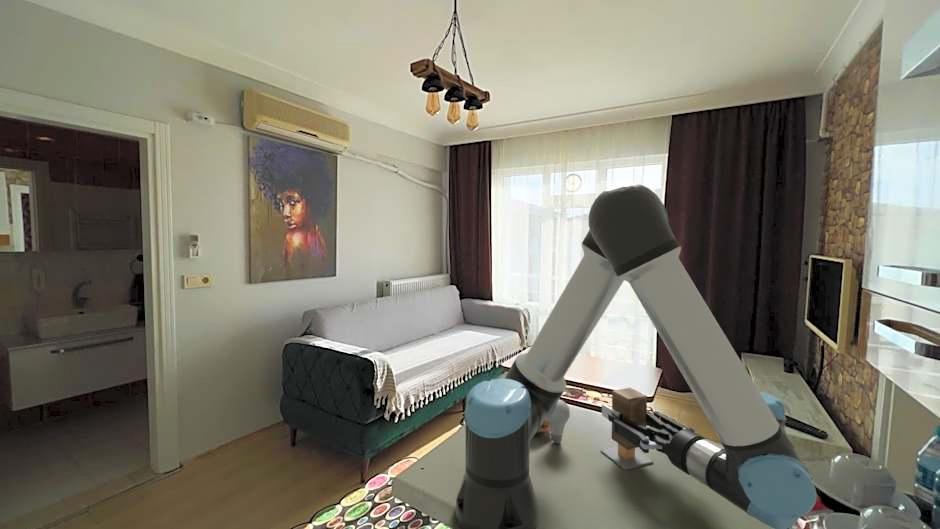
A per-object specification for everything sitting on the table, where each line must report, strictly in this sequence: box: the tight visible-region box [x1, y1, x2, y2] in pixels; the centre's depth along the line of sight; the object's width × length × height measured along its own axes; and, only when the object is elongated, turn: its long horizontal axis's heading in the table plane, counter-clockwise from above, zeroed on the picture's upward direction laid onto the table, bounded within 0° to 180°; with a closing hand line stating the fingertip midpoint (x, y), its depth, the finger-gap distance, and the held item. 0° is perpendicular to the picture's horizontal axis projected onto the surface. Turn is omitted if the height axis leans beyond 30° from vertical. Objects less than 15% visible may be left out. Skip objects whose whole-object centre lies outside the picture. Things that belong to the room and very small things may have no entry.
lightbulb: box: [547, 399, 571, 444], centre depth 96 cm, size 6×6×11 cm
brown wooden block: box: [611, 387, 648, 450], centre depth 89 cm, size 5×5×12 cm
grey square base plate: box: [600, 443, 654, 471], centre depth 90 cm, size 8×8×7 cm
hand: (613, 407), depth 94 cm, fingers closed on brown wooden block, 5 cm apart
